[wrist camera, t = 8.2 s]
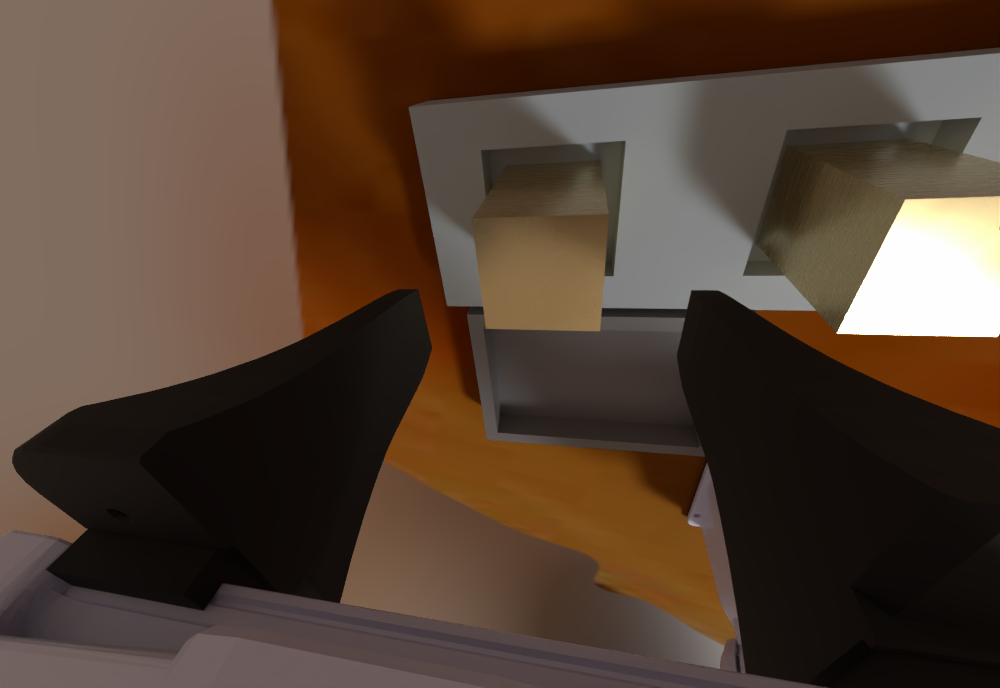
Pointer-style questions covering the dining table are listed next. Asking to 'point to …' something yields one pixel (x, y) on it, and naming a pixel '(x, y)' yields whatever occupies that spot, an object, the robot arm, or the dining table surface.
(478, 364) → the grey shallow rectangular tray
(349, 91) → the dining table surface
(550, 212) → the block
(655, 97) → the grey pocketed tray
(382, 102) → the dining table surface
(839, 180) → the block
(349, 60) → the dining table surface
